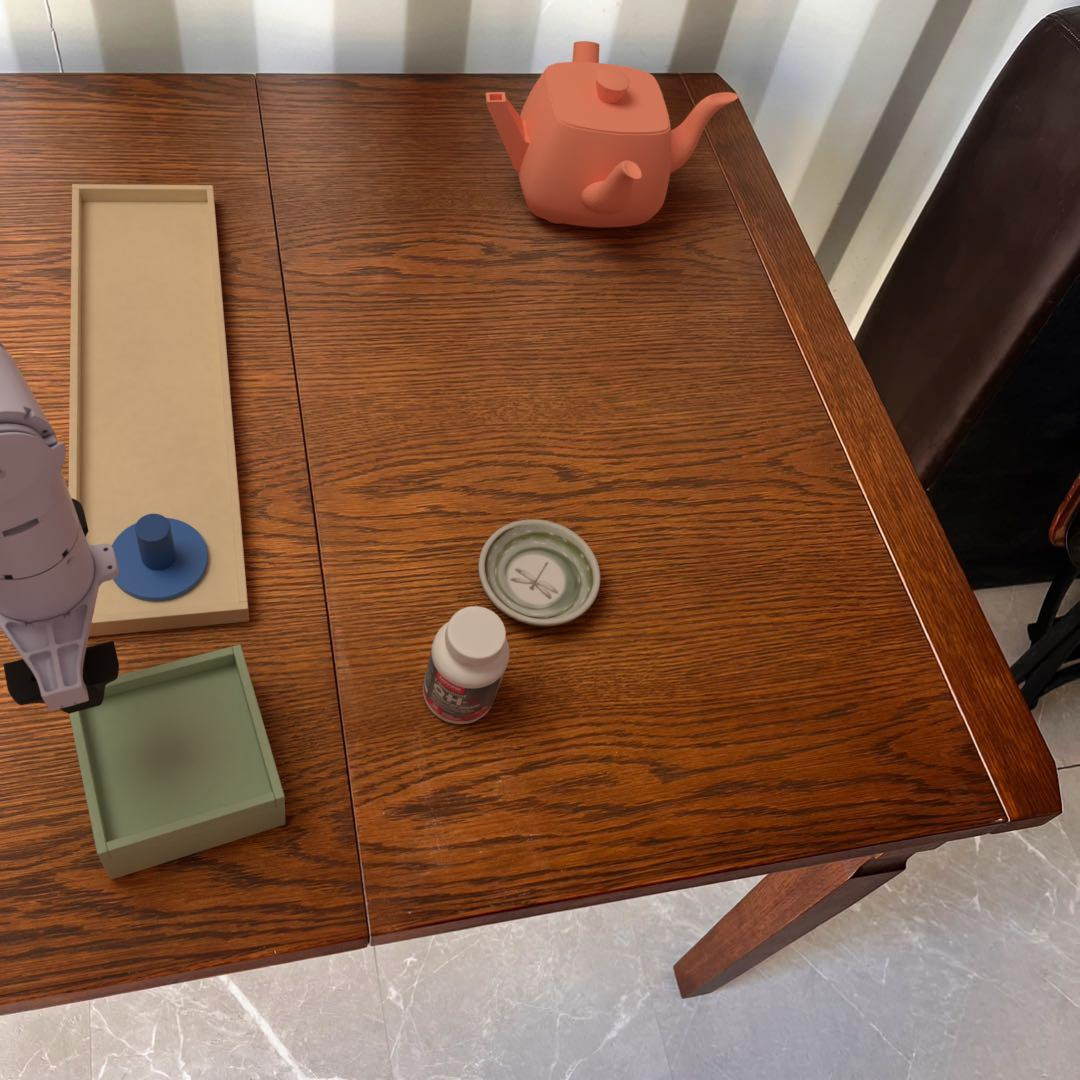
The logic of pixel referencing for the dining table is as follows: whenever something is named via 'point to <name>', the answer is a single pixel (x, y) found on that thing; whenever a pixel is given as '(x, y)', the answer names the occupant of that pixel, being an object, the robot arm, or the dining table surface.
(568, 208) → the teapot
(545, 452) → the dining table surface
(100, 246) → the tray
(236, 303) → the dining table surface
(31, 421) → the robot arm
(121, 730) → the green square tray
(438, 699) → the pill bottle
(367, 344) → the dining table surface
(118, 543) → the blue lid
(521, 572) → the saucer
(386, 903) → the dining table surface
